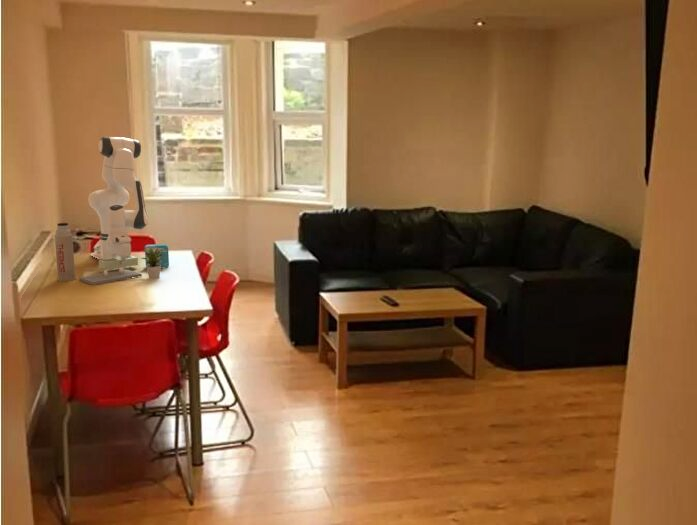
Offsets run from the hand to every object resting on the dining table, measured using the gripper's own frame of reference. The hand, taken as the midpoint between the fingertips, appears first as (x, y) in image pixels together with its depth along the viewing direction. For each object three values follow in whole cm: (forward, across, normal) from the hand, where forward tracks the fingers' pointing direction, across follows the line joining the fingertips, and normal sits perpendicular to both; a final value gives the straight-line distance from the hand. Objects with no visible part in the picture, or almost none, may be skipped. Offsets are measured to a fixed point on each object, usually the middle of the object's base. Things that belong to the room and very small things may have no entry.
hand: (118, 262), depth 374 cm
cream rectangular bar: (+2, 0, 0) cm, 2 cm away
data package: (+4, +8, +18) cm, 20 cm away
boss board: (+4, +16, -12) cm, 20 cm away
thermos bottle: (+4, +2, -29) cm, 29 cm away
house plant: (+3, +30, +3) cm, 30 cm away
